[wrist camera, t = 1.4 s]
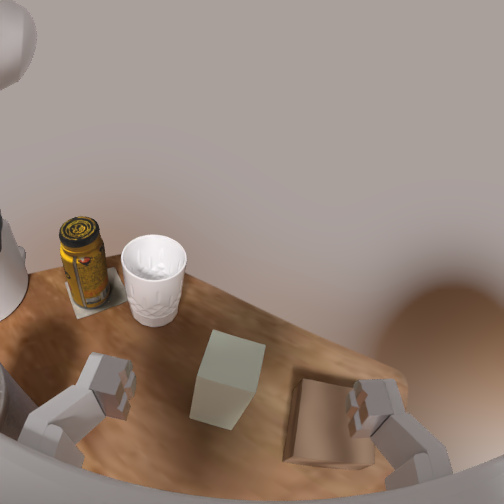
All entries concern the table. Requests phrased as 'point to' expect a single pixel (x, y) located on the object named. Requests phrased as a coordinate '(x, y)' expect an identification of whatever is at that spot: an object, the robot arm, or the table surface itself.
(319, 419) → the walnut base
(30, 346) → the table surface
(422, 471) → the robot arm
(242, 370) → the sage block
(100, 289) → the condiment
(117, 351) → the table surface
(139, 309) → the white cup
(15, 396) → the pillar candle
